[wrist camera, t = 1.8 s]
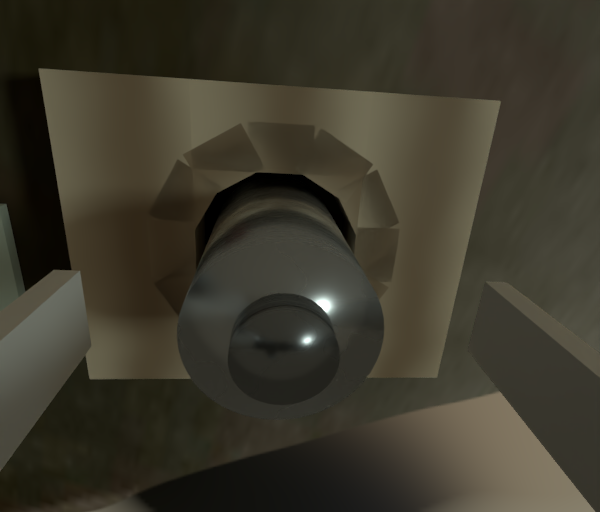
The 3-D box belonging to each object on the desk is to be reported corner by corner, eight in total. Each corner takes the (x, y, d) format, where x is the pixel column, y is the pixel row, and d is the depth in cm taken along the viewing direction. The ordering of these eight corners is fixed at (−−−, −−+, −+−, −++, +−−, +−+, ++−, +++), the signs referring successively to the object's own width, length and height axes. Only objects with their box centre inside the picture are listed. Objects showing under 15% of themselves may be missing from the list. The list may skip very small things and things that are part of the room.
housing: (111, 344, 22) (89, 379, 19) (75, 73, 17) (38, 68, 14) (417, 345, 24) (436, 377, 21) (466, 100, 19) (500, 101, 16)
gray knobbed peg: (217, 282, 21) (175, 447, 11) (215, 172, 19) (161, 252, 9) (326, 284, 22) (378, 443, 12) (336, 177, 20) (411, 259, 10)
